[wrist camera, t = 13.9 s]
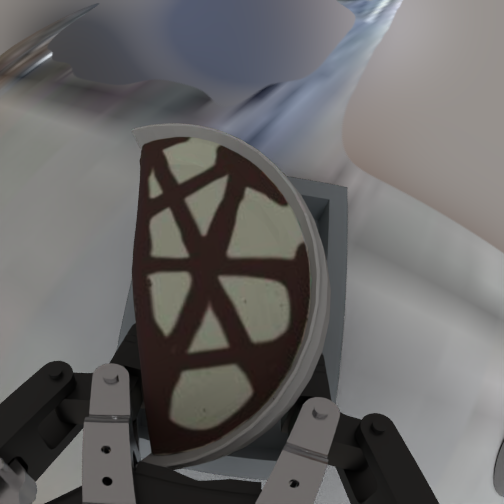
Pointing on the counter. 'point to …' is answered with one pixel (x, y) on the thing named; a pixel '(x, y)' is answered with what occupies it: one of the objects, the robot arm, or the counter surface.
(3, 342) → the counter surface
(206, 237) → the food container
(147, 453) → the tray
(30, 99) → the counter surface
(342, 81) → the counter surface
